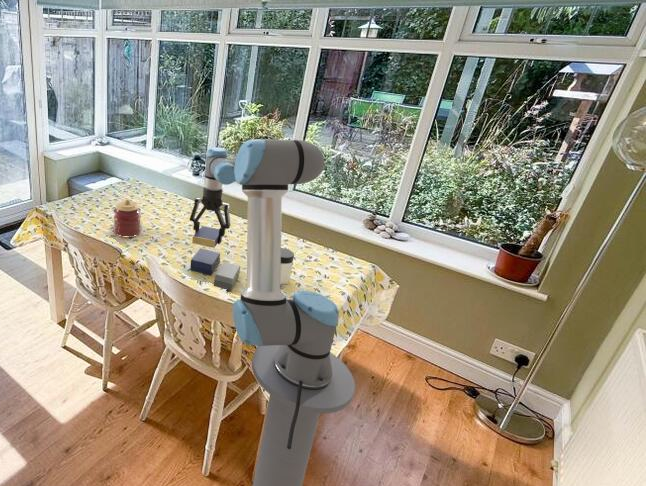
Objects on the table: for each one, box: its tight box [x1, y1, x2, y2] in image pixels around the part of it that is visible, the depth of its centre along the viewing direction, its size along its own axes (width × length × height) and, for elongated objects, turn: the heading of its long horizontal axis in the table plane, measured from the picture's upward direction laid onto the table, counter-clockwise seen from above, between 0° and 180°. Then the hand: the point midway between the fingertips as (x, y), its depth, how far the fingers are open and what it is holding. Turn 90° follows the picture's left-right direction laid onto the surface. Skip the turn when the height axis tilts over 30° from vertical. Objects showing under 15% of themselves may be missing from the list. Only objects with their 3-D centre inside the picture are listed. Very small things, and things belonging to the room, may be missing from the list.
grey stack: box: [212, 261, 241, 292], centre depth 160 cm, size 12×7×5 cm, turn 153°
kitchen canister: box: [113, 198, 142, 236], centre depth 197 cm, size 13×13×18 cm
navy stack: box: [189, 247, 221, 277], centre depth 171 cm, size 12×9×5 cm
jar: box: [280, 247, 295, 285], centre depth 162 cm, size 9×8×12 cm
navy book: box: [191, 225, 224, 249], centre depth 166 cm, size 12×9×3 cm
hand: (207, 239), depth 167 cm, fingers closed on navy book, 9 cm apart
